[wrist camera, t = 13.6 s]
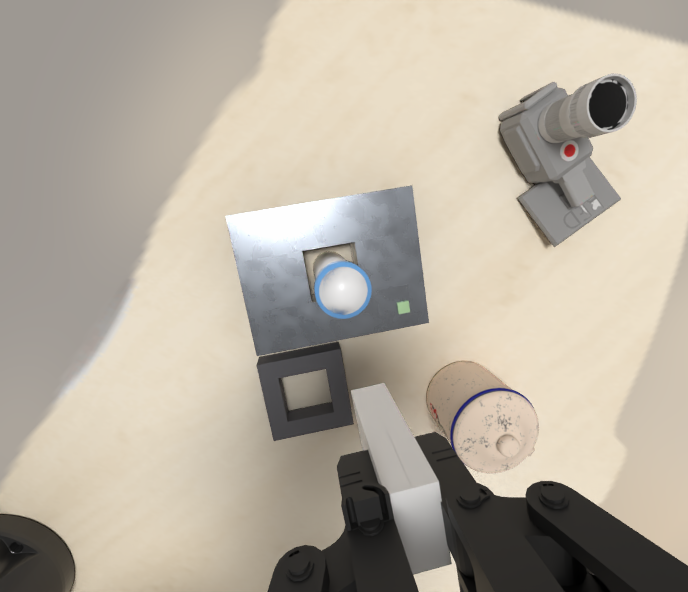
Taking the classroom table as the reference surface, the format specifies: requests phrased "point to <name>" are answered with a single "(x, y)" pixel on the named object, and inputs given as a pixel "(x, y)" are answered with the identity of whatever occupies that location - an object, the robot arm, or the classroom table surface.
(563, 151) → the camera
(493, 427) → the teacup with lid
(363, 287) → the plug
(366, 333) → the port panel
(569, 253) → the classroom table surface
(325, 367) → the frame
